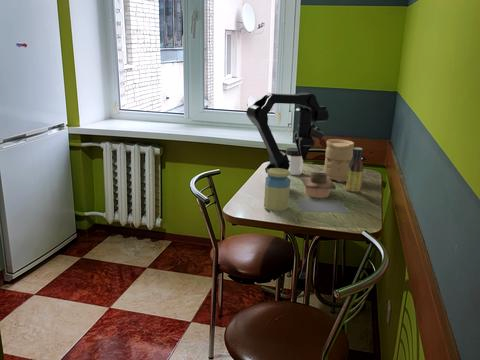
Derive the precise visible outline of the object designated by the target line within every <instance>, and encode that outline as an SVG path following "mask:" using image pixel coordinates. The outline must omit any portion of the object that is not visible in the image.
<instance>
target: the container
mask: <svg viewBox="0 0 480 360" xmlns="http://www.w3.org/2000/svg"><path fill="white" fill-rule="evenodd" d="M354 146H355V142H353V141H352V140H348V139H339V138H332V139H327V140H326V148H325V154H324V155H325V156H324V157H325V158H324V159H325V160H324V166H323V173H326V174H327V178H329V179H330V180H331V181H336V182H337V183H345V182H347V175H348V166H349V164H350V162H351V159H352V157H353V148H355V147H354Z"/></svg>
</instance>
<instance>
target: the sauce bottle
mask: <svg viewBox="0 0 480 360" xmlns="http://www.w3.org/2000/svg"><path fill="white" fill-rule="evenodd" d="M362 154H363V148H362V147H353V156H352V159H351V162H350V164H349V166H348V175H347V181H346V184H345V185H346V186H345V189H346V190H345V191H347V192H349V193H353V194H357V193H361V190H362V182H363V174H364V173H363V172H364V163H363V160H362Z"/></svg>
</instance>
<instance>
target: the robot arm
mask: <svg viewBox="0 0 480 360" xmlns="http://www.w3.org/2000/svg"><path fill="white" fill-rule="evenodd" d="M275 104H283V105H284V104H286V105H287V104H290V105H299V106H298V107H297V108H296V109H295V110H294V111H295V112H297V113H299V114H298V123H297V130H296V131H294V132H293V139H294V143H295V146H296V148H297V149H298V152H299V155H301V156H302V159H303V161H305V160H306V158H307V156H308V153H309V151H310V149H311V148H313V147H315V142H316V141H315V140H314V139H313V138H316V139H318V140H320V141H322V140H323V138H324V136H325V133H324V132H323V131H321V128H320V127H317V126H316V127H314V126H313V123H321V122H327V121H328V119H329V115H330V114H329V111H328V109H327V106H326V105H320V103H319V102H318V100H317V96H316V94H314V93H309V92H305V91H303V92H297V93H295V94H290V93H288V94H287V93H271V92H267V93H265V94H264V95H263V96H262V97H261V98H259V99H257V100H255V102H253V104H250V105H249V106H248V107H247V109H246V111H245V112H246V116H247V117H248V119H249V120H250V122H251V123H252V124H253V125H254V126H255V127H256V129H257V131H258V133H259V134H260V137H261V139H262V141H263V143H264V145H265V148H266V150H267V153H268V154H269V156H268V157H269V159H268V160H269V163H268V164H267V166H266V167H265V173H266V174H267V170H268V169H270V168H281V169H287V170H288V169H289V167H290V164H289V162H290V161H289V159H288V157H287V154H286V152H283V151H281V150H280V148H279V146H278V144H277V141H276V139H275V138H274V135H273V133H272V130H271V128H270V126H269V116H268V114H269V113H270V112H271V110H272V108H273V106H274V105H275ZM268 176H270V175H269V174H267V177H268Z"/></svg>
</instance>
